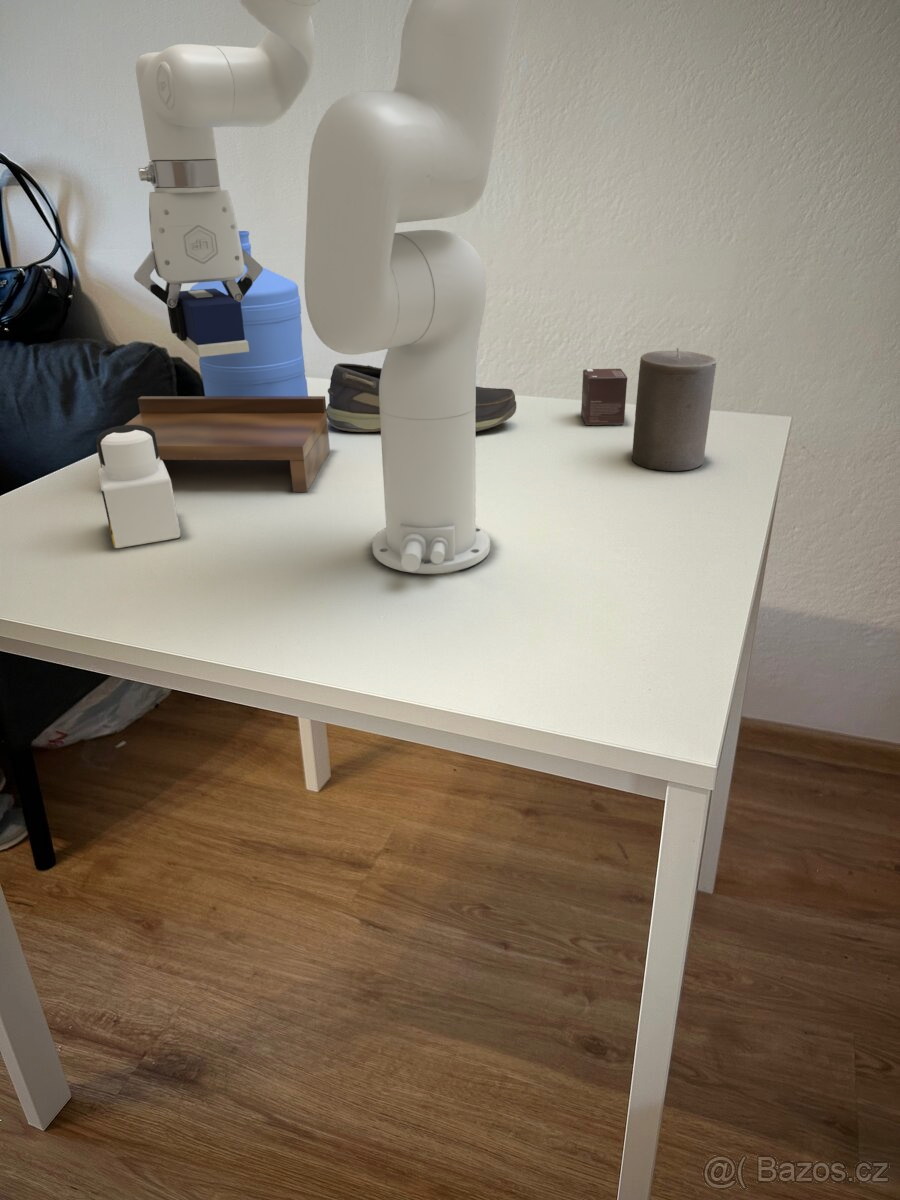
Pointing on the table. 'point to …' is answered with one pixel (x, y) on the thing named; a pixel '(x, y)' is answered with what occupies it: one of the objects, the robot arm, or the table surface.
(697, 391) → the pillar candle
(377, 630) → the table surface
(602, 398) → the box
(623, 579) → the table surface
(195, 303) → the blue block on tray
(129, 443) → the medicine bottle
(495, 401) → the boat shoe
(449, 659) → the table surface
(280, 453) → the shelf
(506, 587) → the table surface
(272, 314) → the water jug
